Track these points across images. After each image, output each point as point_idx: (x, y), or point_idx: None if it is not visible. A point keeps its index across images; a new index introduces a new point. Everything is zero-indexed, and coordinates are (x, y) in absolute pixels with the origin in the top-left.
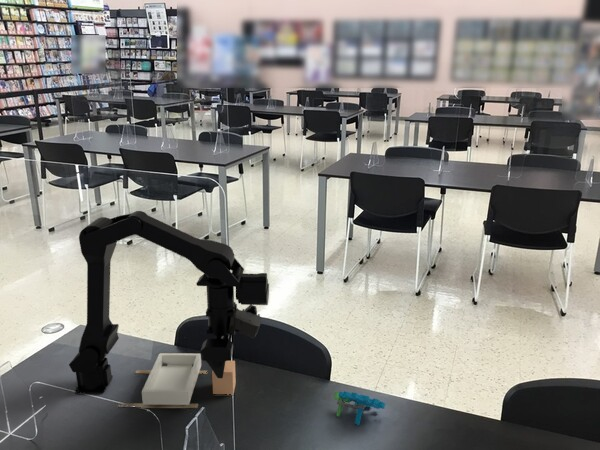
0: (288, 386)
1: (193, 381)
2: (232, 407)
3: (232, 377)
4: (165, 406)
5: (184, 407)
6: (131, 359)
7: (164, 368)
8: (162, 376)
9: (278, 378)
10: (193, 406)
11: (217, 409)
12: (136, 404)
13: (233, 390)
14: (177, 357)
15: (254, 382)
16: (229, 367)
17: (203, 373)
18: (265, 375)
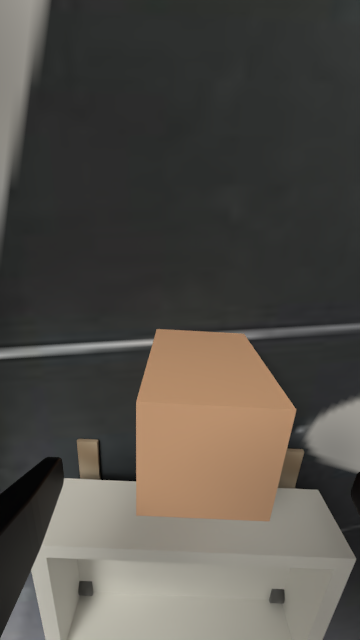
0: (198, 11)
1: (226, 520)
2: (326, 332)
3: (277, 384)
4: None
5: (293, 484)
6: (37, 622)
7: (106, 585)
8: (155, 584)
9: (114, 88)
10: (296, 462)
11: (325, 386)
12: None
13: (238, 340)
14: (61, 599)
15: (153, 240)
16: (227, 432)
17: (98, 453)
18: (89, 177)
